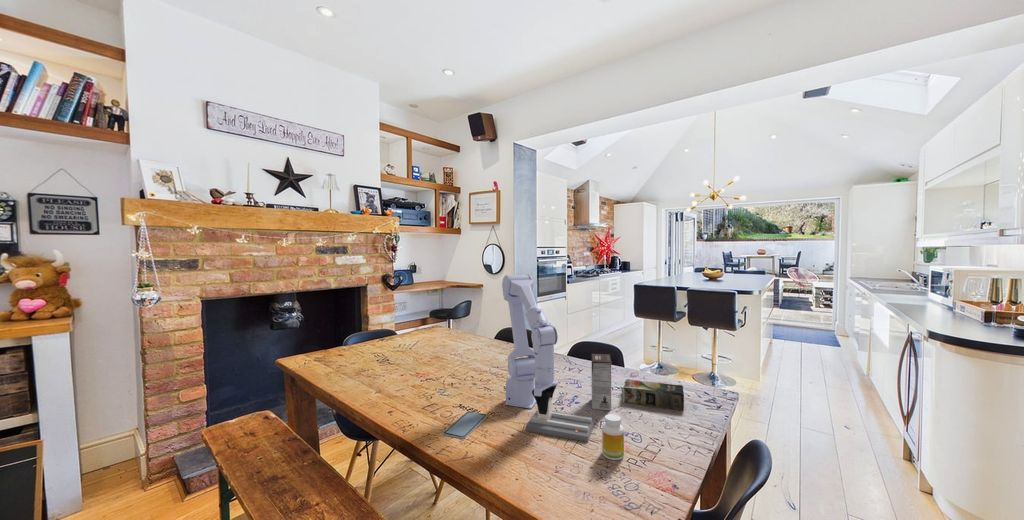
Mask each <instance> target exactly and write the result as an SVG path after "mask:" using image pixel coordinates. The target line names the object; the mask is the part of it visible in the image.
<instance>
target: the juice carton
mask: <svg viewBox="0 0 1024 520" xmlns="http://www.w3.org/2000/svg"><path fill="white" fill-rule="evenodd" d="M621 394H622V402H623V403H627V404H632V405H640V406H647V407H653V408H659V409H662V408H663V409H669V410H673V411H674V410H675V411H681V412H683V411H684V409H685V392H684V386H683V385H682V384H671V383H663V382H656V381H655V382H654V381H647V380H646V381H645V380H640V379H639V380H637V379H629V378H627V379H624V383H623V386H622V388H621Z"/></svg>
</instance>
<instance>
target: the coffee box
mask: <svg viewBox="0 0 1024 520" xmlns="http://www.w3.org/2000/svg"><path fill="white" fill-rule="evenodd" d="M611 358H612V357H611V354H610V353H608V354H607V353H606V354H605V353H603V354H602V353H591V409H592V410H598V411H599V410H601V411H612V359H611Z"/></svg>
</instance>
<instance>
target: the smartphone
mask: <svg viewBox="0 0 1024 520" xmlns="http://www.w3.org/2000/svg"><path fill="white" fill-rule="evenodd" d="M487 415H488V414H486V413H482V412H475V411H470V410H469V411H466V412H465V413H463V415H461V416H460V417H459V418H458V419H457V420H455V421H454V423H452V424H451V425H450V426H449V427H447V428H446V430H444V431H443V432H442V434H443V436H446V437H452V438H455V439H460V440H463V439H466V438H467V437H468V436H469V435H471V434H472V432H474V431H475V430H476V429H477V428H478V427H479V426H480V425H481V424H482V423H483V422H484V421H485V420H486V419H487V417H488V416H487Z"/></svg>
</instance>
